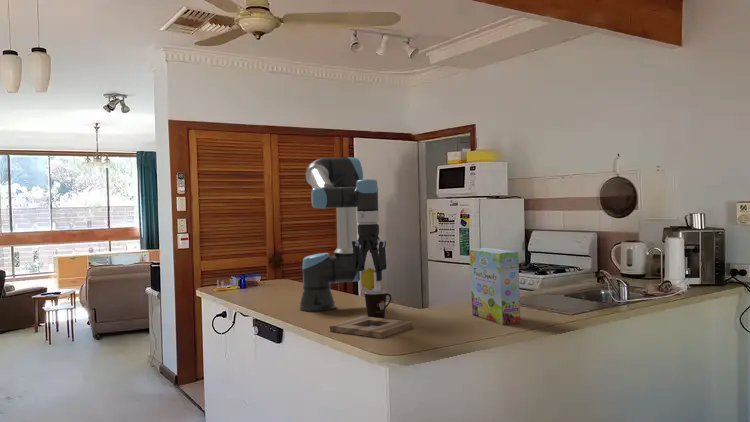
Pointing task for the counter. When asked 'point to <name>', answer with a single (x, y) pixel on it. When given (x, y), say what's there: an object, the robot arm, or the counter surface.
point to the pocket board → (371, 326)
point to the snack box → (495, 285)
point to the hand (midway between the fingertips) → (370, 289)
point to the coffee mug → (376, 303)
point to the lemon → (368, 278)
